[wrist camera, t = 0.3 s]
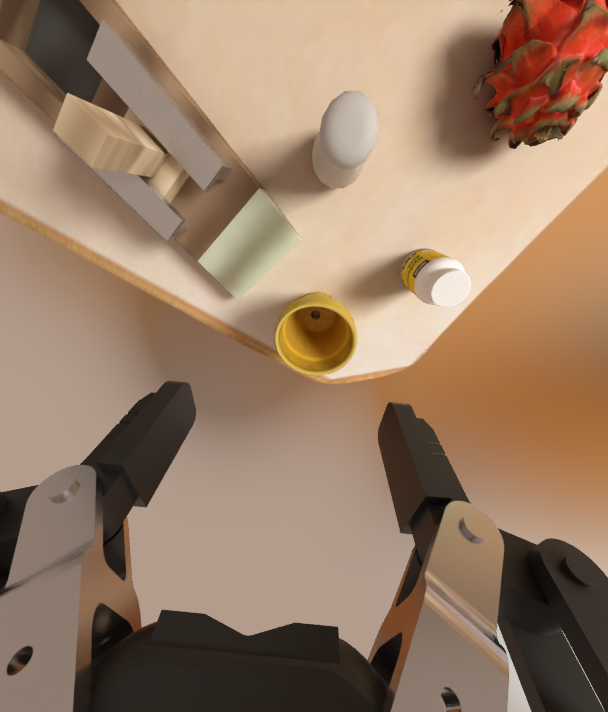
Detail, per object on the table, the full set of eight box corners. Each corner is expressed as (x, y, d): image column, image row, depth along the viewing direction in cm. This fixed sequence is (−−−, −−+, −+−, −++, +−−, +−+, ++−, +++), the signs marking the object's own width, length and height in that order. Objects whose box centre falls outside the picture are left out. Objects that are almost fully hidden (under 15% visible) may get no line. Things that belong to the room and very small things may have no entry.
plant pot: (281, 337, 41) (271, 371, 32) (286, 275, 35) (276, 297, 27) (341, 345, 41) (347, 381, 33) (356, 284, 35) (367, 309, 27)
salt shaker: (312, 190, 29) (308, 181, 18) (311, 127, 26) (306, 71, 15) (360, 188, 29) (386, 178, 18) (365, 124, 26) (400, 64, 15)
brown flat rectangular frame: (11, 62, 25) (-24, 46, 22) (51, -81, 20) (13, -122, 18) (243, 293, 37) (237, 300, 34) (301, 237, 32) (300, 240, 30)
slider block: (122, 153, 26) (21, 127, 17) (150, 101, 24) (50, 40, 15) (170, 203, 28) (102, 202, 19) (200, 159, 26) (138, 137, 17)
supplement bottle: (407, 244, 32) (438, 258, 24) (446, 251, 32) (490, 267, 24) (393, 284, 35) (416, 309, 27) (429, 290, 35) (463, 317, 27)
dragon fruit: (513, 163, 28) (469, 54, 25) (634, 84, 21) (593, -80, 18) (502, 184, 24) (447, 57, 21) (648, 94, 17) (598, -118, 14)
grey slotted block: (87, 143, 26) (56, 135, 23) (132, 45, 22) (102, 19, 19) (182, 237, 30) (166, 241, 27) (233, 169, 26) (222, 165, 23)
